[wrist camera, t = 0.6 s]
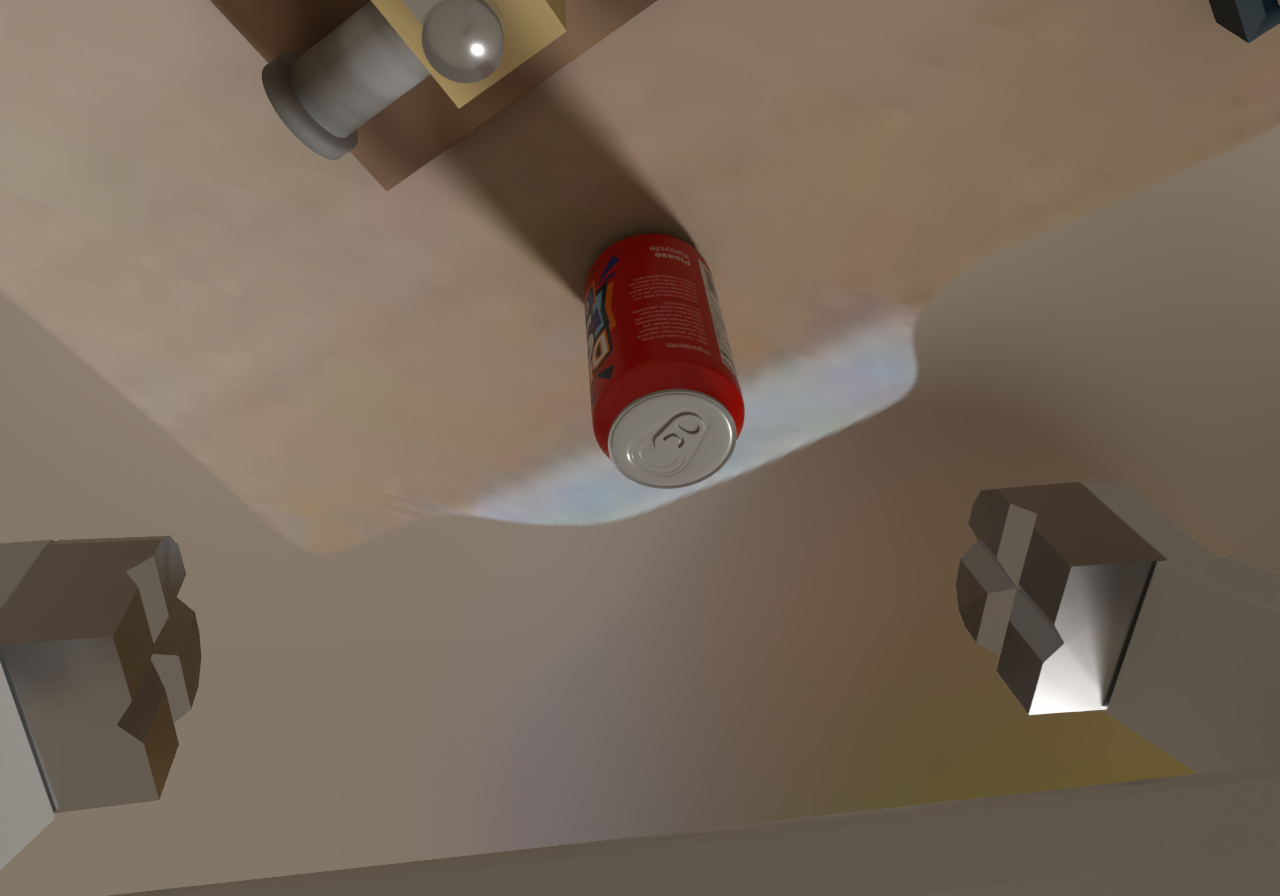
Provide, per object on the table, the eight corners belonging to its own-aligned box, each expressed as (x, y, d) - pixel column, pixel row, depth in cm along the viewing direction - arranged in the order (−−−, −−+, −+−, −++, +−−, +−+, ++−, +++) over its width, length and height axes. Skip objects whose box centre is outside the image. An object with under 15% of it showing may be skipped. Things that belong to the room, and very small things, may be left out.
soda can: (736, 269, 59) (783, 428, 48) (656, 354, 63) (681, 519, 52) (636, 200, 56) (661, 354, 45) (557, 294, 60) (562, 458, 48)
